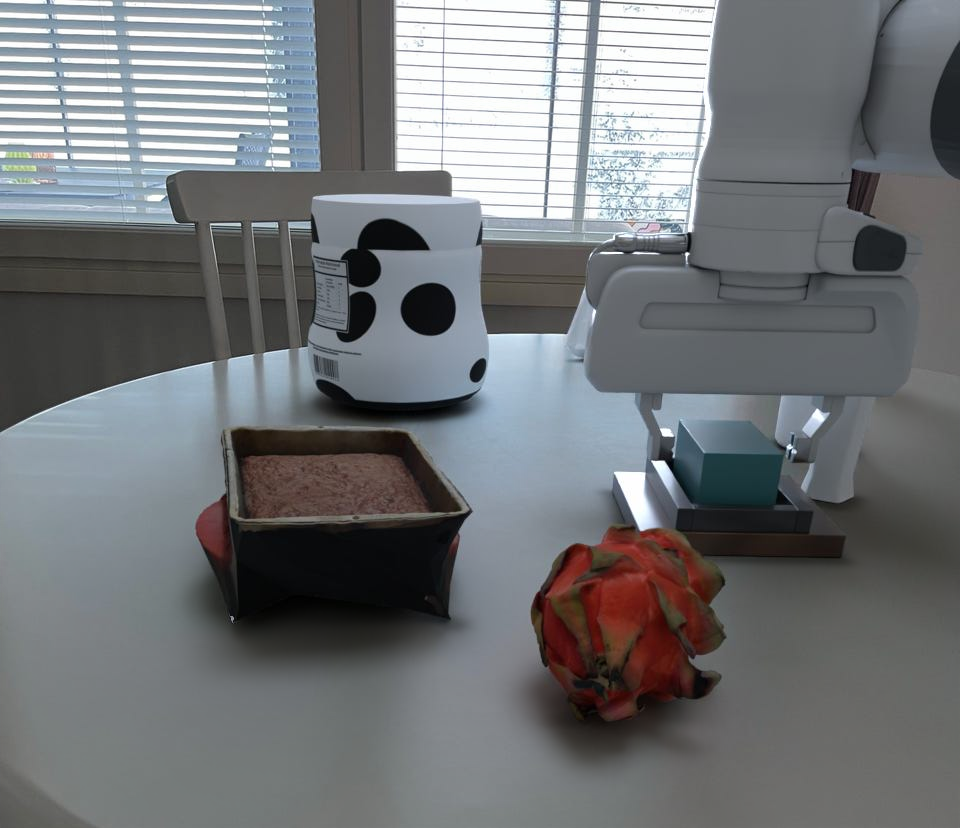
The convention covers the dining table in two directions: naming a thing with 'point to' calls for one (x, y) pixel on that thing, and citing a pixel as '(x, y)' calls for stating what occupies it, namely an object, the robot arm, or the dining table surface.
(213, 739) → the dining table surface
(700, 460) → the teal rectangular block
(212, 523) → the baking dish
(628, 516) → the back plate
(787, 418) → the can
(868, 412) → the perfume bottle
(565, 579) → the dragon fruit
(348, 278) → the milk container
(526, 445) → the dining table surface
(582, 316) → the shaker set
